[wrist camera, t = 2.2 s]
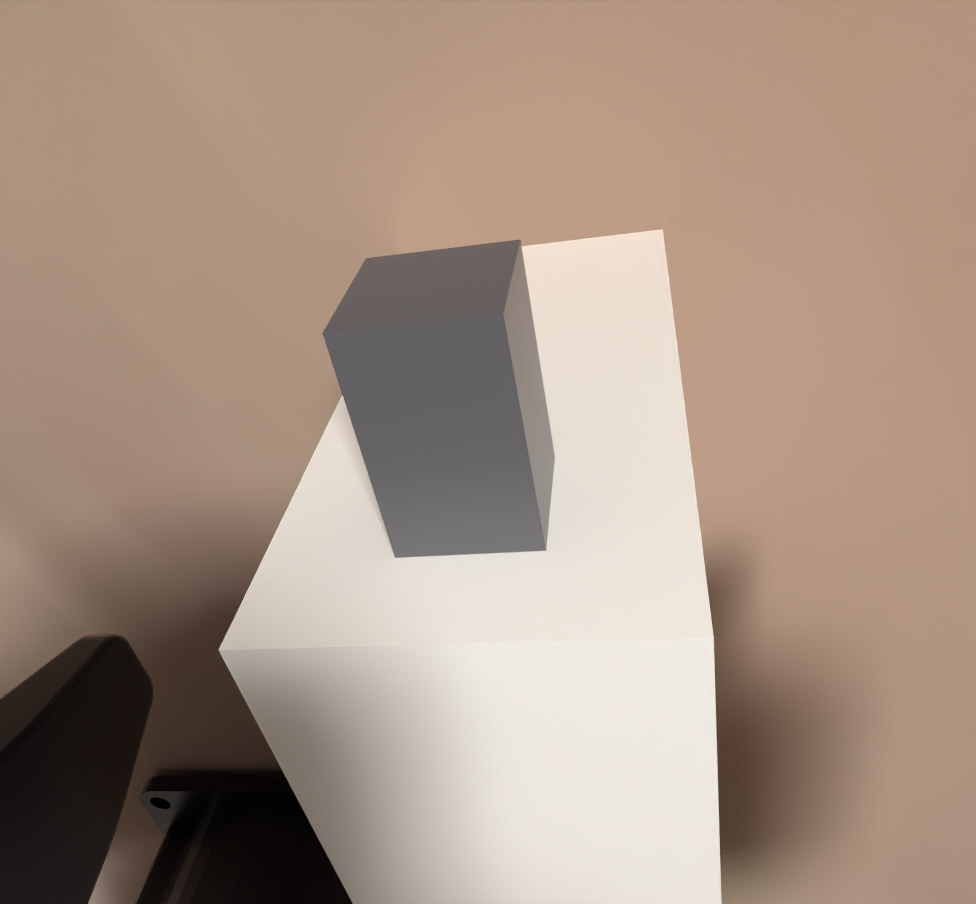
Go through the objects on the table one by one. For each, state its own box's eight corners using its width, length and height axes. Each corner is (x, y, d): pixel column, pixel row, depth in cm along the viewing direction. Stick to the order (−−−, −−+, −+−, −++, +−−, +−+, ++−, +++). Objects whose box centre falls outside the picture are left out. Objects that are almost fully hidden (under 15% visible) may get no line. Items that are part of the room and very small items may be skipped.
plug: (467, 507, 14) (372, 942, 9) (371, 112, 11) (98, 425, 5) (677, 495, 14) (723, 958, 8) (653, 67, 10) (707, 371, 4)
